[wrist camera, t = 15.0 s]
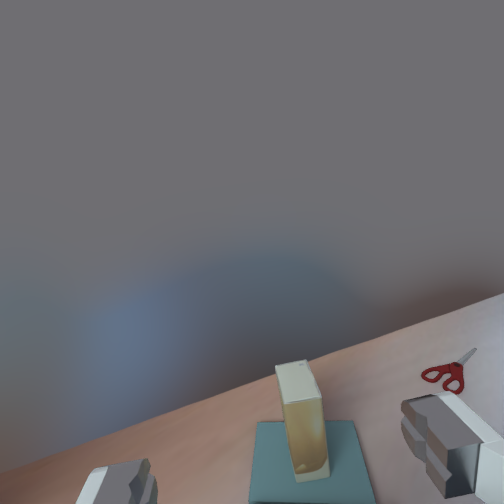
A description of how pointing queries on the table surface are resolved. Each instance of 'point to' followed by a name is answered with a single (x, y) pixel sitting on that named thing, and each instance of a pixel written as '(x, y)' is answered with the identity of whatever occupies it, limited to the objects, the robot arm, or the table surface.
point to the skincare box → (303, 421)
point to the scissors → (451, 368)
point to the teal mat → (317, 491)
